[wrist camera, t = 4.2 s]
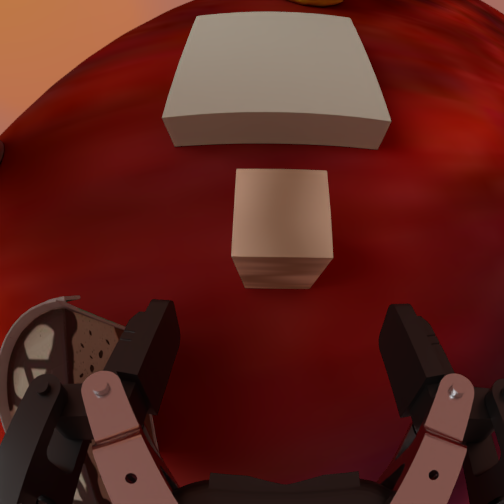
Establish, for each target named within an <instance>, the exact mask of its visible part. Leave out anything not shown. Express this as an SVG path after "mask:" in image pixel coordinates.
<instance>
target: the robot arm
mask: <svg viewBox="0 0 504 504" xmlns="http://www.w3.org/2000/svg"><path fill="white" fill-rule="evenodd" d="M3 152H4V144H3V142H2V141H1V140H0V162H1V159H2V156H3ZM179 344H180V329H179V325H178V320H177V316H176V311H175V306H174V303H173V301H171V300H157V299H153V300H151V302H150V304H149V306H148V308H147V309H146V311H145V312H138V313H137V314H136V315H135V316H134V317H132V318H131V319H130V320H129V322H128V324H127V325H126V327H125V329H124V332H123V333H122V335H121V337H120V340H118V342H117V344H116V346H115V348H114V350H113V352H112V354H111V356H110V357H109V359H108V361H107V363H106V365H105V367H104V369H103V371H99V372H95V373H93V374H91V375H90V376H88V377H87V378H86V379H85V381H84V382H83V383H78V384H61V382H60V381H59V379H58V378H57V377H56V376H55V375H53V374H42V375H39V376H37V377H36V378H35V379H34V380H33V381H32V382H31V383H30V385H29V387H28V388H27V390H26V392H25V394H24V396H23V398H22V400H21V402H20V404H19V406H18V408H17V410H16V412H15V414H14V416H13V418H12V420H11V422H10V425H9V427H8V429H7V431H6V433H5V436H4V438H3V440H2V443H1V445H0V504H73V500H74V496H75V492H76V488H77V485H78V481H79V478H80V474H81V471H82V467H83V464H84V461H85V457H86V454H87V451H88V448H89V445H90V441H91V440H92V439H94V440H95V444H94V445H92V452H93V455H94V458H95V461H96V464H97V467H98V470H99V472H100V475H101V478H102V480H103V483H104V485H105V488H106V490H107V493H108V495H109V497H110V500H111V502H112V504H447V502H448V500H449V498H450V495H451V493H452V490H453V488H454V486H455V483H456V480H457V478H458V475H459V472H460V470H461V467H462V464H463V469H464V474H465V479H466V484H467V489H468V495H469V502H470V504H504V379H499V380H497V381H496V382H495V383H494V384H493V386H492V387H491V388H490V389H489V388H478V387H473V385H472V384H471V382H470V381H469V380H468V379H467V378H466V377H464V376H462V375H460V374H455V373H454V371H453V369H452V367H451V365H450V363H449V360H448V358H447V356H446V354H445V352H444V350H443V348H442V346H441V345H439V341H438V339H437V337H435V333H434V331H433V329H432V327H431V326H430V324H429V323H428V322H427V321H426V320H424V319H423V318H422V317H421V316H417V315H416V314H415V312H414V310H413V308H412V306H411V305H410V304H391V305H390V306H389V308H388V310H387V314H386V317H385V320H384V323H383V326H382V329H381V332H380V335H379V349H380V352H381V355H382V358H383V361H384V364H385V368H386V371H387V374H388V377H389V380H390V384H391V387H392V390H393V394H394V397H395V400H396V404H397V408H398V411H399V415H400V418H402V417H408V416H411V418H412V423H411V424H410V426H409V428H408V430H407V432H406V434H405V436H404V438H403V440H402V442H401V444H400V446H399V448H398V450H397V452H396V454H395V455H394V457H393V459H392V461H391V463H390V464H389V466H388V467H387V469H386V470H385V471H384V472H383V474H382V475H381V476H380V478H379V479H378V481H377V482H373V481H369V480H364V479H359V472H358V471H357V472H349V473H340V474H330V475H322V476H319V477H315V478H312V479H308V480H304V481H301V482H297V483H293V484H288V485H283V484H278V483H274V482H269V481H265V480H261V479H257V478H253V477H250V476H242V475H229V474H218V473H210V479H209V480H203V481H199V482H194V483H191V484H188V485H185V486H183V487H181V488H180V487H179V485H178V483H177V482H176V480H175V478H174V477H173V475H172V474H171V472H170V471H169V469H168V467H167V466H166V464H165V462H164V461H163V459H162V457H161V455H160V453H159V451H158V449H157V447H156V445H155V444H154V442H153V440H152V438H151V436H150V433H149V431H148V429H147V427H146V425H145V423H144V421H145V418H146V415H147V414H152V415H157V414H158V411H159V407H160V404H161V401H162V398H163V394H164V391H165V388H166V385H167V382H168V379H169V376H170V372H171V369H172V366H173V363H174V360H175V357H176V354H177V351H178V348H179ZM494 431H495V433H496V436H497V439H498V443H499V446H500V449H501V457H500V460H498V456H497V453H496V449H495V446H494V442H493V439H492V436H491V434H492V433H493V432H494ZM53 432H54V433H53Z"/></svg>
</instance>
